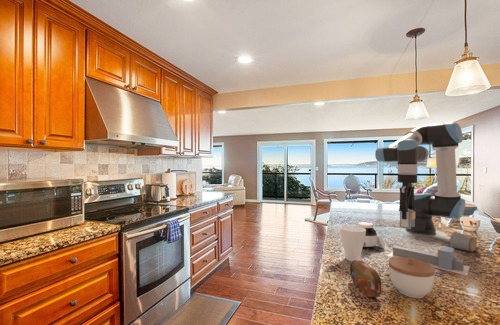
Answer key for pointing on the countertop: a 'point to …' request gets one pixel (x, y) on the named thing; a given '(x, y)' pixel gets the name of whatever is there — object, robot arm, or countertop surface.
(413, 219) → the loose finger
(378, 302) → the countertop surface
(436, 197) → the robot arm
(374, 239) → the spread jar
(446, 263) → the fitted finger
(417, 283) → the lidded bowl
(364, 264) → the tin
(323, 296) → the countertop surface
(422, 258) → the rail board
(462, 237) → the grey cylinder
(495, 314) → the countertop surface
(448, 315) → the countertop surface
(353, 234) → the cup
